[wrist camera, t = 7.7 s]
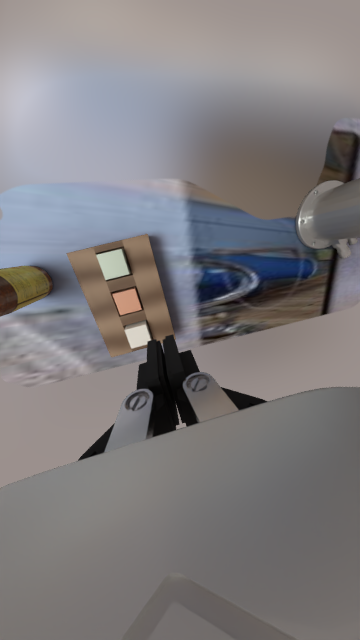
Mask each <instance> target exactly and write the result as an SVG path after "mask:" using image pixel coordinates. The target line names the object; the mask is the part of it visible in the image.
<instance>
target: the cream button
mask: <svg viewBox="0 0 360 640" xmlns="http://www.w3.org/2000/svg"><path fill="white" fill-rule="evenodd" d="M125 333H126V336H127V338H128V341H129V344H130V346H131V349H132V348H136V347H140V346H143V345H147V342H148V341H151V340H152V336H151V333H150V330H149V327H148V324H147V321H146V320H143V321H140V322H136V323H132V324H129V325H126V327H125Z"/></svg>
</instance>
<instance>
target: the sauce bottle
mask: <svg viewBox="0 0 360 640" xmlns="http://www.w3.org/2000/svg"><path fill="white" fill-rule="evenodd" d="M52 284H53V283H52V280H51V277H50V276H49V275H48V273H46V272H45V271H44V270H42V269H41V268H39V267H35V266H19V267H12V268H4V269H0V316H3V315H6V314H9V313H11V312H14V311H16V310H18V309H20V308H22V307H25V306H27V305H29V304H31V303H33V302H36V301H38V300H40V299H42V298H44V297H45V296H46V295H48V294H49V293H50V292H51V290H52V287H53V285H52Z"/></svg>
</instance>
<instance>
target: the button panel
mask: <svg viewBox="0 0 360 640" xmlns="http://www.w3.org/2000/svg"><path fill="white" fill-rule="evenodd" d="M119 249H124V252H125V255H126V258H127V262H128V265H129V268H130V271H131V273H130V274H128V275H124V276H120V277H116V278H112V279H108V280H105V277H104V275H103V272H102V269H101V267H100V264H99V261H98V259H97V256H96V255H98V254H102V253H106V252H111V251H115V250H119ZM66 254H67V256H68V258H69V260H70V263H71V265H72V267H73V270H74V272H75V274H76V277H77V279H78V281H79V284H80V286H81V288H82V291H83V293H84V295H85V298H86V300H87V302H88V305H89V307H90V309H91V311H92V314H93V316H94V318H95V321H96V323H97V325H98V328H99V330H100V332H101V335H102V337H103V339H104V342H105V344H106V346H107V349H108V351H109V353H110V356H111V357H115V356H118V355H122V354H125V353H129V352H133V351H136V350H140V349H143V348H147V345H143V346H140V347H136V348H132V349H131V346H130V344H129V341H128V338H127V336H126V333H125V327H126V325H129V324H132V323H136V322H140V321H143V320H146V321H147V324H148V327H149V330H150V333H151V336H152V340H154V339H156V340H157V341H159V340H160V342H161V343H163V341H162V340H163V339H165V336H169V335H172V334H173V335H174V339H176V338H175V334H174V331H173V327H172V323H171V319H170V316H169V312H168V308H167V305H166V301H165V297H164V293H163V290H162V286H161V282H160V279H159V275H158V271H157V267H156V264H155V260H154V256H153V252H152V249H151V245H150V241H149V238H148V234H145V235H141V236H137V237H133V238H128V239H124V240H120V241H116V242H112V243H108V244H104V245H99V246H95V247H91V248H87V249H83V250H79V251H74V252H70V253H66ZM134 286H136V288H137V291H138V294H139V297H140V300H141V303H142V310H138V311H135V312H131V313H127V314H123V315H120V313H119V311H118V308H117V305H116V303H115V300H114V297H113V295H112V294H113V293H114V292H115V291H119V290H123V289H126V288H130V287H134Z"/></svg>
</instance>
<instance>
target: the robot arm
mask: <svg viewBox="0 0 360 640" xmlns="http://www.w3.org/2000/svg"><path fill="white" fill-rule="evenodd" d="M296 231H297V235H298V237H299V239H300V241H301V242H302V243H303V244H304V245H305V246H307V247H309V248H313V249H321V248H326V247H329V246H331V245H332V246H333V247H334V248H336V249H337V252H338V255H339V257H340V258H346V257H348V256H350V255H351V252H350V249H349V247H348V246H347V244H346V243H347V241H348V243H349V245H353V244H355V243H357V238H360V178H359V179H356V180H353V181H351V182H348V183H345V184H344V183H342V182H340V181H337V180H331V181H326V182H324V183H321V184H319V185H317V186H316V187H314V188H313V189H312V190H311V191H309V192H308V194H307V195H306V196H305V198H304V199H303V201H302V202H301V204H300V207H299V209H298V212H297V216H296ZM162 341H163V348H164V352H163V349H162V345H161V342H160V340H159V341H157V340H156V339H154V340H151V341H148V342H147V362H146V363H143V364H140V365H139V371H138V381H137V390H136V391H134V392H132V393H131V394H129V395H128V396H127V397H126V398H125V399H124V401H123V403H122V405H121V408H120V410H119V413H118V416H117V419H116V421H115V423H114V424H113V425H112V426H111V427H110V429H108V430H107V431H106V432H105V433H104V434H103V435H102V436H101V437H100V438H99V439H98V440H97V441H96V442H95V443H94V444H93V445H92V446H91V447H90V448H89V449H88V450H87V451H86V452H85V453H84V454H83V455H82V456H81V457H80V458H79V460H78V461H76V462H73V463H70V464H67V465H64V466H61V467H58V468H54V469H52V470H48V471H45V472H42V473H39V474H36V475H33V476H31V477H28V478H25V479H22V480H19V481H17V482H14V483H11V484H8V485H6V486H4V487H1V488H0V640H360V387H331V388H320V389H314V390H309V391H304V392H301V393H297V394H293V395H289V396H286V397H282V398H278V399H275V400H272V401H265V400H263V399H260V398H256V397H253V396H249V395H246V394H242V393H239V392H236V391H232V390H229V389H225V388H222V387H220V386H219V385H218V383H217V382H216V381H215V380H214V378H213V377H212V376H211V375H210V374H208V373H204V372H200V371H199V369H198V366H197V364H196V362H195V359H194V357H193V355H192V353H191V350H188V351H185V352H181V353H179V352H178V349H177V346H176V342H175V339H174V335H173V334H172V335H169V336H165V339H163V340H162ZM175 401H176V402H175ZM176 405H177V407H176ZM177 408H178V411H179V414H180V417H181V420H182V423H186V426H187V427H184V428H181V429H177V430H176V425H179V419H178V414H177Z"/></svg>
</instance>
